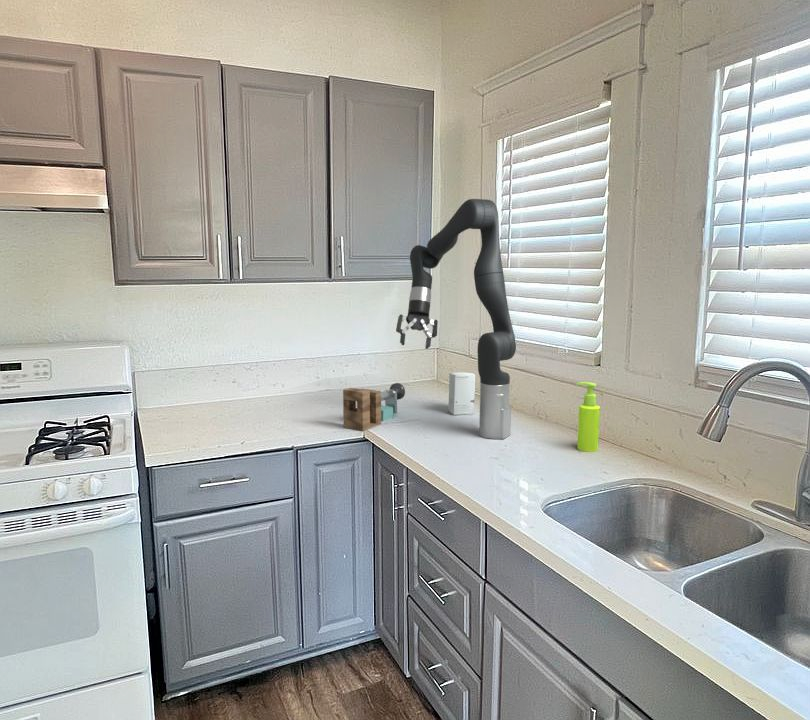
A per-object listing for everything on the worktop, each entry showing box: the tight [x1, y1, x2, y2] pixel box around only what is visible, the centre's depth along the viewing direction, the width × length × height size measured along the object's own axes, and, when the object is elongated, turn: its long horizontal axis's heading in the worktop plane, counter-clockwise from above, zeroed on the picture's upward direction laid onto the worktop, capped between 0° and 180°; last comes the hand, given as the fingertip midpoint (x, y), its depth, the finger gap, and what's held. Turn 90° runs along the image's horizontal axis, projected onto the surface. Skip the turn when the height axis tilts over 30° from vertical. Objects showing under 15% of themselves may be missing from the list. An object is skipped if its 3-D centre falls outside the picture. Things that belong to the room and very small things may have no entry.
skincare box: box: [447, 371, 476, 416], centre depth 222 cm, size 8×6×15 cm
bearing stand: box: [342, 387, 382, 432], centre depth 205 cm, size 8×10×13 cm
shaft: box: [370, 382, 406, 415], centre depth 215 cm, size 6×21×10 cm, turn 147°
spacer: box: [381, 404, 394, 422], centre depth 215 cm, size 5×6×4 cm
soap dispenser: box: [576, 381, 601, 453], centre depth 180 cm, size 6×7×20 cm
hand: (414, 346), depth 211 cm, fingers open, 8 cm apart
